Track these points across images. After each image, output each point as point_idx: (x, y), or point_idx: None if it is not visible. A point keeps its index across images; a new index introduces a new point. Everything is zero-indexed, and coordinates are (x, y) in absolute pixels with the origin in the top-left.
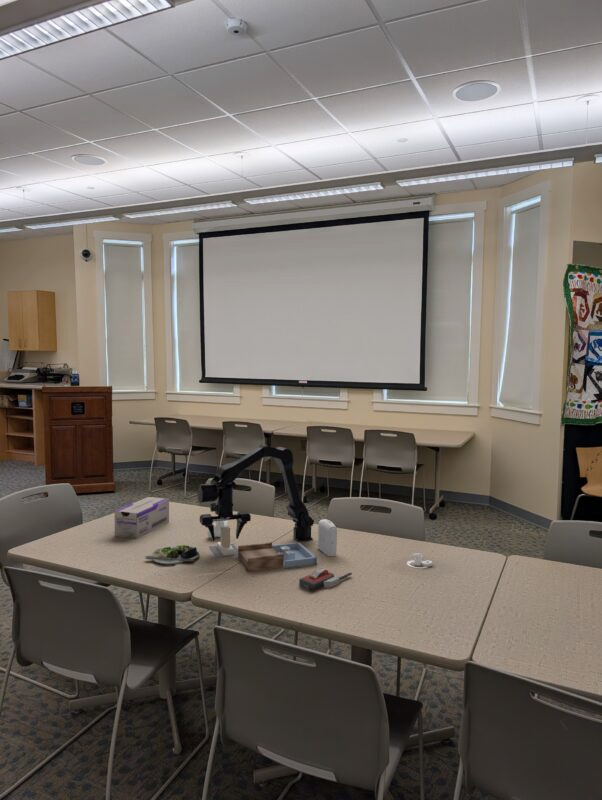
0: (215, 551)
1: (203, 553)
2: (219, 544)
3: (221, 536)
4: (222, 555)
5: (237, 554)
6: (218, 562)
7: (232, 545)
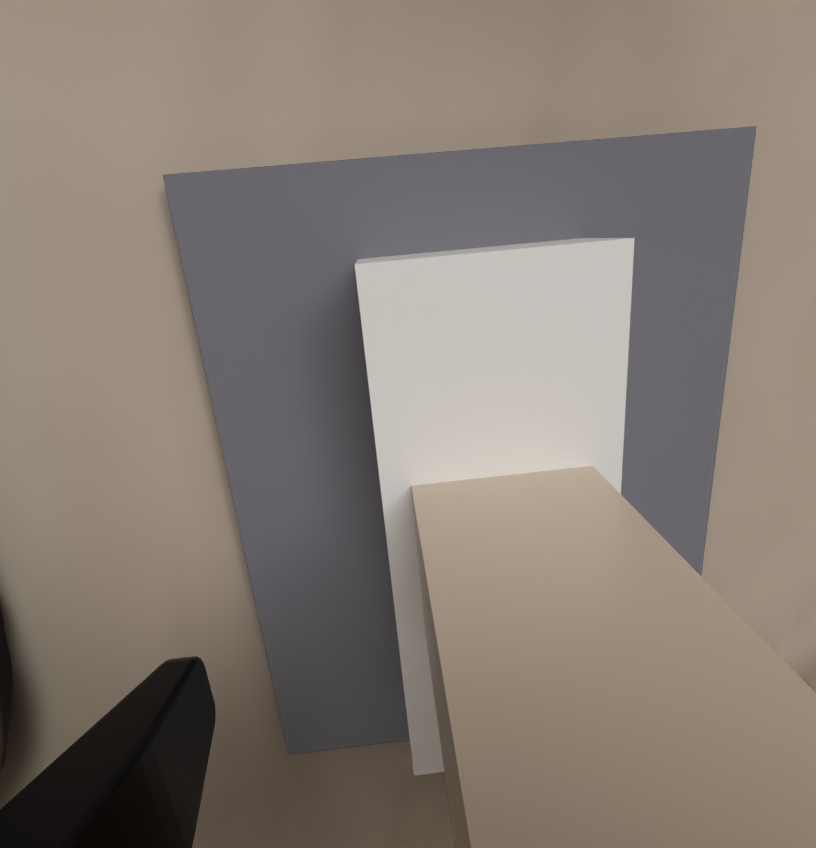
0: (300, 504)
1: (80, 492)
2: (390, 458)
3: (449, 767)
4: (397, 689)
5: None
6: (315, 837)
7: (696, 232)
